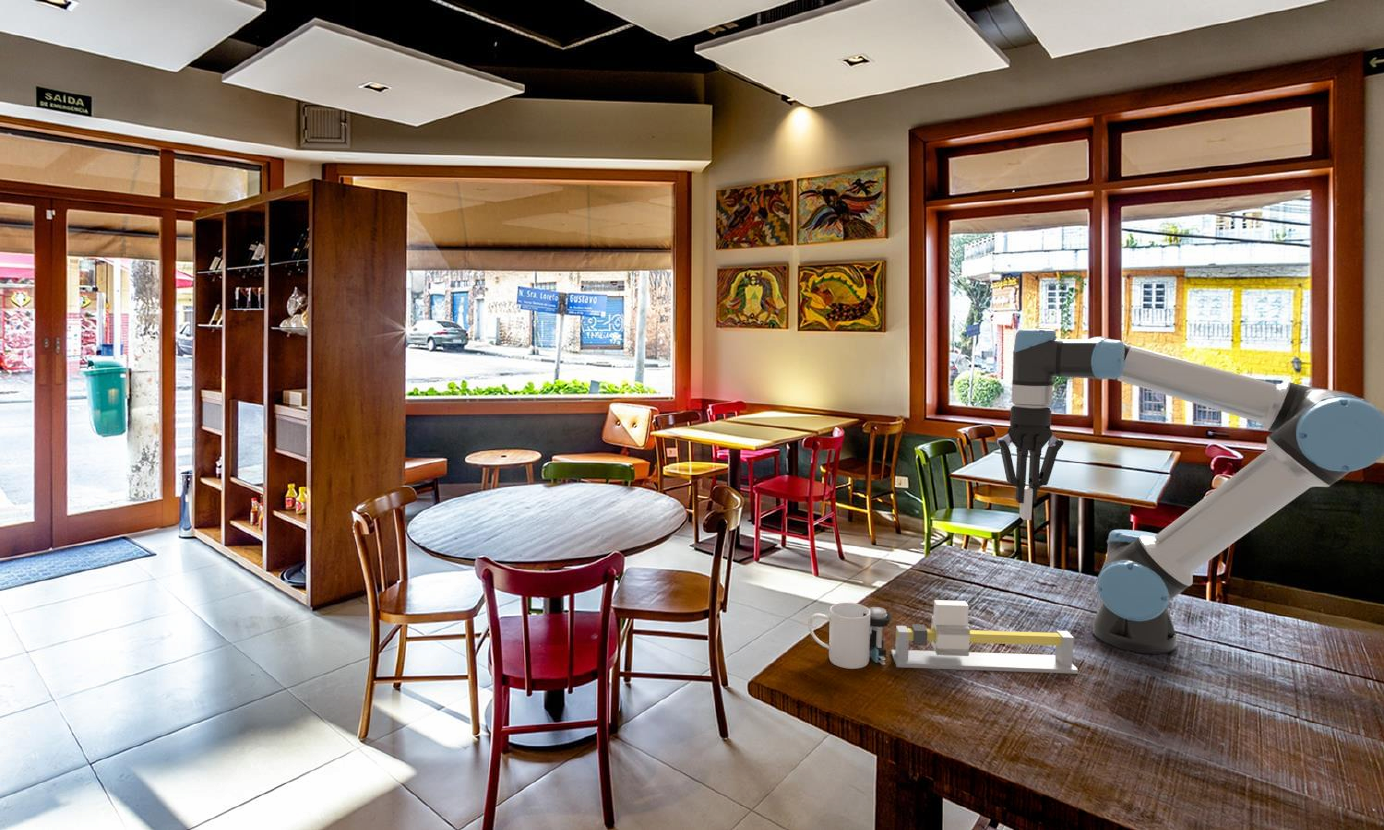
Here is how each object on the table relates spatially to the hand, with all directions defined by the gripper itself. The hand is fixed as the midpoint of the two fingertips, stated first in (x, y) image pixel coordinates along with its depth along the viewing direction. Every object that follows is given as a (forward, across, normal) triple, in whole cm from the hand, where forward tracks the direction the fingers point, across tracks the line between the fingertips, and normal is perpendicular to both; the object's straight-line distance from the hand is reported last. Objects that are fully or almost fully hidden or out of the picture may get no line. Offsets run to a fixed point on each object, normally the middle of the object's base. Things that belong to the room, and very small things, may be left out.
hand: (1025, 517), depth 153 cm
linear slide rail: (+26, +11, +12) cm, 31 cm away
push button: (+27, +32, +12) cm, 43 cm away
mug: (+27, +39, +13) cm, 49 cm away
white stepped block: (+24, +17, +12) cm, 32 cm away
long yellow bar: (+22, +12, +12) cm, 28 cm away
